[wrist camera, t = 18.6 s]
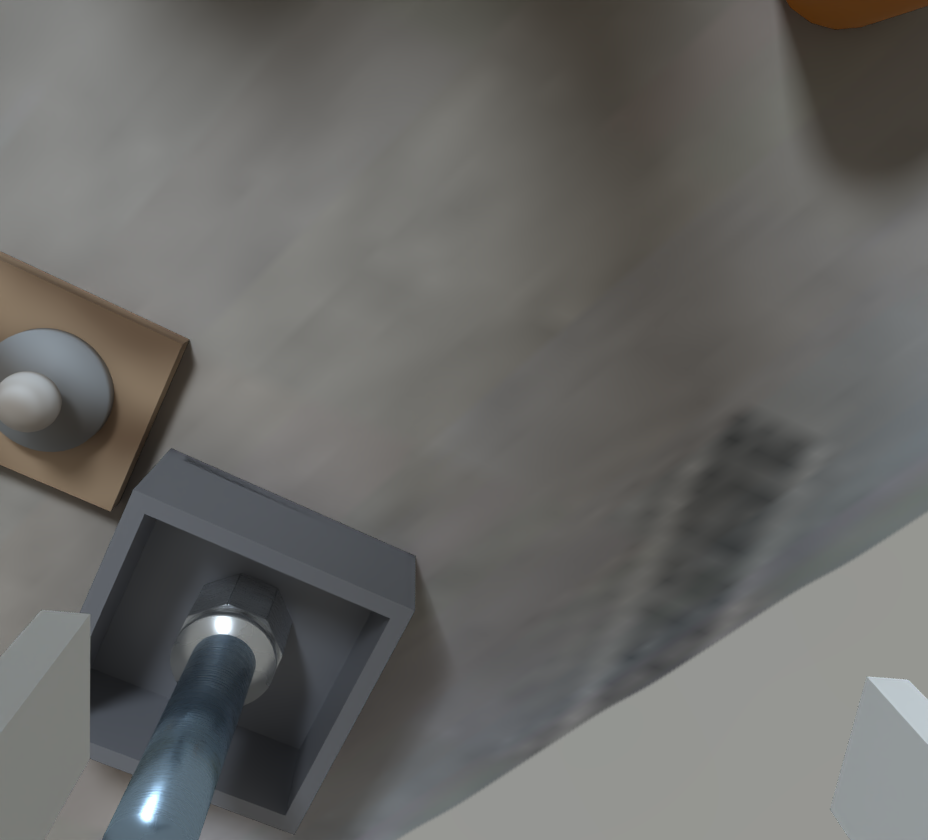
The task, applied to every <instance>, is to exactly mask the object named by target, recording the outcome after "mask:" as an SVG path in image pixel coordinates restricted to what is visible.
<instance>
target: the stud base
mask: <svg viewBox="0 0 928 840" xmlns="http://www.w3.org/2000/svg"><path fill="white" fill-rule="evenodd" d="M188 342H189V339H187V338H185V337H183V336H181V335H179V334H177V333H174V332H172V331H170V330H168V329H166V328H164V327H162V326H159V325H157V324H155V323H153V322H151V321H149V320H146V319H144V318H142V317H140V316H138V315H136V314H134V313H131V312H129V311H127V310H125V309H123V308H121V307H119V306H116V305H114V304H112V303H110V302H108V301H106V300H104V299H101V298H99V297H97V296H95V295H93V294H91V293H89V292H86V291H84V290H82V289H80V288H78V287H76V286H73V285H71V284H69V283H67V282H65V281H63V280H61V279H58V278H56V277H54V276H52V275H50V274H48V273H46V272H43V271H41V270H39V269H37V268H35V267H33V266H31V265H28V264H26V263H24V262H22V261H20V260H18V259H15V258H13V257H11V256H9V255H7V254H5V253H3V252H0V465H2V466H4V467H6V468H9V469H11V470H13V471H16V472H18V473H21V474H23V475H25V476H28V477H30V478H32V479H35V480H37V481H39V482H42V483H44V484H46V485H49V486H51V487H54V488H56V489H58V490H61V491H63V492H65V493H68V494H70V495H72V496H75V497H77V498H80V499H82V500H84V501H87V502H89V503H91V504H94V505H96V506H98V507H101V508H103V509H105V510H108V511H110V512H111V511H112V509H113V508H114V507H115V506H116V505H117V504H118V503H119V501H120V499H121V497H122V495H123V492H124V490H125V488H126V485H127V483H128V481H129V478H130V476H131V474H132V471H133V469H134V467H135V464H136V462H137V460H138V457H139V455H140V453H141V450H142V448H143V446H144V444H145V441H146V439H147V437H148V434H149V432H150V430H151V427H152V425H153V423H154V420H155V418H156V416H157V413H158V411H159V409H160V406H161V404H162V402H163V400H164V397H165V395H166V393H167V390H168V388H169V386H170V383H171V381H172V379H173V376H174V374H175V372H176V369H177V367H178V365H179V362H180V360H181V358H182V355H183V353H184V351H185V349H186V346H187V344H188Z"/></svg>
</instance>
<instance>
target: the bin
mask: <svg viewBox="0 0 928 840" xmlns="http://www.w3.org/2000/svg"><path fill="white" fill-rule="evenodd" d="M415 560H416V556H414V555H412V554H409V553H407V552H405V551H403V550H400V549H398V548H396V547H394V546H391V545H389V544H387V543H384V542H382V541H380V540H378V539H375V538H373V537H371V536H369V535H366V534H364V533H362V532H360V531H357V530H355V529H353V528H351V527H348V526H346V525H344V524H341V523H339V522H337V521H335V520H332V519H330V518H328V517H326V516H323V515H321V514H319V513H317V512H314V511H312V510H310V509H308V508H305V507H303V506H301V505H299V504H296V503H294V502H292V501H289V500H287V499H285V498H283V497H280V496H278V495H276V494H274V493H271V492H269V491H267V490H265V489H262V488H260V487H258V486H256V485H253V484H251V483H249V482H246V481H244V480H242V479H240V478H237V477H235V476H233V475H231V474H228V473H226V472H224V471H222V470H219V469H217V468H215V467H213V466H210V465H208V464H206V463H203V462H201V461H199V460H197V459H194V458H192V457H190V456H188V455H185V454H183V453H181V452H179V451H176V450H174V449H172V448H171V449H170V450H169V451H168V452H167V453H166V455H165V456H164V457H163V458H162V459H161V460H160V461H159V462H158V463H157V464H156V465H155V466H154V468H153V469H152V470H151V471H150V472H149V473H148V474H147V475H146V476H145V477H144V478H143V479H142V481H141V482H140V483H139V484H138V485H137V486H136V487H135V488H134V489H133V491H132V494H131V496H130V498H129V500H128V503H127V505H126V507H125V510H124V512H123V514H122V517H121V519H120V521H119V524H118V526H117V528H116V530H115V533H114V535H113V537H112V540H111V542H110V544H109V547H108V549H107V551H106V553H105V556H104V558H103V560H102V563H101V565H100V567H99V570H98V572H97V574H96V576H95V579H94V581H93V583H92V586H91V588H90V590H89V593H88V595H87V597H86V600H85V602H84V604H83V606H82V609H81V611H80V613H86V614H90V759H92V760H95V761H98V762H100V763H103V764H106V765H108V766H111V767H114V768H116V769H119V770H122V771H124V772H127V773H130V774H132V775H133V774H134V772H135V770H136V768H137V766H138V764H139V762H140V760H141V757H142V755H143V753H144V751H145V749H146V747H147V745H148V743H149V741H150V739H151V737H152V735H153V733H154V730H155V728H156V726H157V724H158V722H159V720H160V718H161V716H162V714H163V712H164V710H165V708H166V705H167V703H168V701H169V699H170V697H171V695H172V693H173V691H174V689H175V687H176V685H177V682H176V680H175V679H174V676H173V674H172V670H171V664H170V656H171V650H172V647H173V645H174V642H175V640H176V639H177V637H178V635H179V633H180V631H181V628H182V626H183V624H184V622H185V620H186V618H187V616H188V614H189V612H190V610H191V608H192V606H193V605H194V603H195V601H196V599H197V597H198V595H199V593H200V591H201V590H202V588H203V586H204V585H205V584H207V583H210V582H213V581H216V580H219V579H222V578H225V577H228V576H231V575H235V574H238V573H241V574H242V573H244V574H247V575H249V576H252V577H254V578H256V579H259V580H261V581H263V582H266V583H268V584H270V585H273V586H275V587H278V588H277V589H279V591H280V593H281V595H282V598H283V600H284V602H285V605H286V607H287V609H288V611H289V614H290V616H291V618H292V625H291V628H290V632H289V635H288V639H287V642H286V646H285V649H284V653H283V656H282V658H281V660H280V662H279V664H278V666H277V668H276V671H275V674H274V677H273V680H272V682H271V684H270V686H269V687H268V689H267V690H266V691H265V692H264V693H263V694H262V695H261V696H260V697H259V698H257V699H256V700H254V701H253V702H251V703H249V704H246V705H244V706H243V708H242V711H241V714H240V717H239V720H238V723H237V726H236V729H235V732H234V735H233V738H232V741H231V744H230V747H229V750H228V753H227V756H226V759H225V762H224V765H223V768H222V771H221V774H220V777H219V780H218V783H217V786H216V789H215V792H214V795H213V798H212V801H211V804H213V805H216V806H218V807H221V808H224V809H226V810H229V811H232V812H234V813H237V814H240V815H242V816H245V817H248V818H250V819H253V820H256V821H258V822H261V823H264V824H266V825H269V826H272V827H274V828H277V829H280V830H283V831H285V832H288V833H291V834H293V835H294V834H295V833H296V831H297V829H298V827H299V825H300V823H301V821H302V820H303V818H304V816H305V814H306V812H307V810H308V808H309V807H310V805H311V803H312V801H313V799H314V797H315V795H316V794H317V792H318V790H319V788H320V786H321V784H322V782H323V781H324V779H325V777H326V775H327V773H328V771H329V769H330V768H331V766H332V764H333V762H334V760H335V758H336V756H337V755H338V753H339V751H340V749H341V747H342V745H343V743H344V742H345V740H346V738H347V736H348V734H349V732H350V730H351V729H352V727H353V725H354V723H355V721H356V719H357V717H358V716H359V714H360V712H361V710H362V708H363V706H364V704H365V703H366V701H367V699H368V697H369V695H370V693H371V691H372V690H373V688H374V686H375V684H376V682H377V680H378V678H379V677H380V675H381V673H382V671H383V669H384V667H385V665H386V664H387V662H388V660H389V658H390V656H391V654H392V652H393V651H394V649H395V647H396V645H397V643H398V641H399V639H400V638H401V636H402V634H403V632H404V630H405V628H406V626H407V625H408V623H409V621H410V619H411V617H412V615H413V613H414V612H415Z"/></svg>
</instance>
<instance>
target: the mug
mask: <svg viewBox="0 0 928 840" xmlns="http://www.w3.org/2000/svg"><path fill="white" fill-rule="evenodd" d="M786 1H787V3H788V4H789V6H790V7H791V8H792V9H793V10H794V11H796V12H797V13H798V14H800V15H801V16H803V17H804V18H805V19H807V20H808V21H809V22H811V23H813V24H817V25H821V26H824V27H828V28H832V29H835V30H836V29H847V28H859V27H863V26H866V25H869V24H873V23H876V22H879V21H882V20H885V19H888V18H891V17H894V16H898V15H901V14H904V13H907V12H910V11H913V10H916V9H919V8H922V7H926V6H928V0H786Z"/></svg>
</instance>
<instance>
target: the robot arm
mask: <svg viewBox="0 0 928 840" xmlns="http://www.w3.org/2000/svg"><path fill="white" fill-rule="evenodd" d="M89 760H90V614H86V613H73V612H61V611H49V610H41V611H40V612H39V613H38V614H37V616H36V617H35V618H34V619H33V620H32V621H31V622H30V624H29V625H28V626H27V627H26V628H25V629H24V630H23V632H22V633H21V634H20V635H19V636H18V637H17V638H16V640H15V641H14V642H13V643H12V644H11V645H10V647H9V648H8V649H7V650H6V651H5V652H4V653H3V655H2V656H1V657H0V840H45V838H46V836H47V834H48V833H49V831H50V829H51V827H52V825H53V824H54V822H55V820H56V818H57V817H58V815H59V813H60V811H61V810H62V808H63V806H64V804H65V802H66V801H67V799H68V797H69V795H70V794H71V792H72V790H73V788H74V787H75V785H76V783H77V781H78V779H79V778H80V776H81V774H82V772H83V771H84V769H85V767H86V765H87V764H88V762H89ZM830 810H831V812H832V813H833V815H834V816H835V818H836V819H837V821H838V823H839V824H840V826H841V827H842V829H843V830H844V832H845V833H846V835H847V836H848V838H849V839H850V840H928V699H927V698H926V697H925V696H924V695H923V694H922V693H921V692H920V691H919V690H918V689H917V688H916V687H915V686H914V685H913V684H912V683H911V682H910V681H909V680H906V679H894V678H881V677H868V676H867V677H866V681H865V684H864V688H863V691H862V695H861V699H860V702H859V706H858V709H857V713H856V717H855V720H854V724H853V728H852V731H851V735H850V739H849V742H848V746H847V749H846V753H845V757H844V760H843V764H842V768H841V771H840V775H839V779H838V782H837V786H836V789H835V793H834V797H833V800H832V804H831V808H830Z"/></svg>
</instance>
